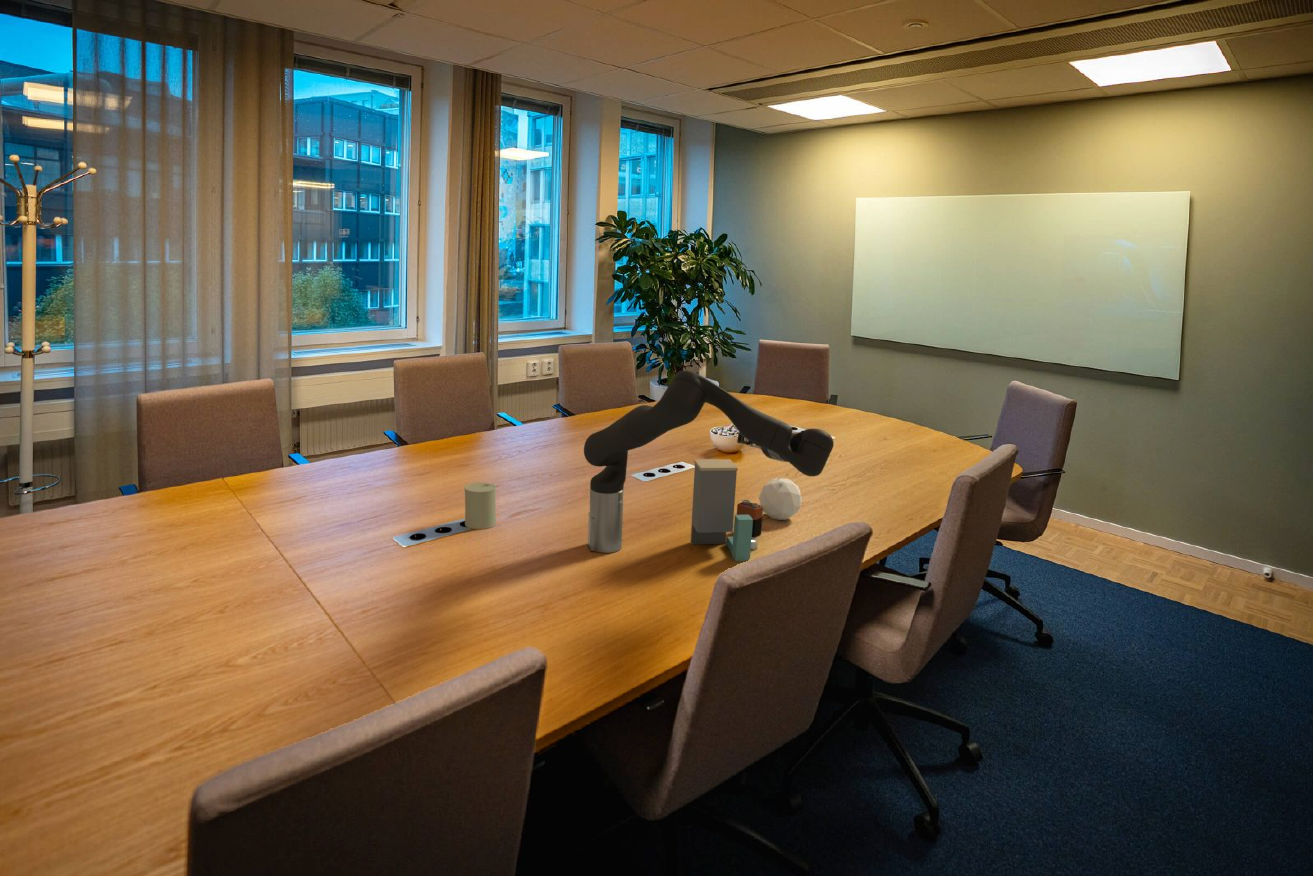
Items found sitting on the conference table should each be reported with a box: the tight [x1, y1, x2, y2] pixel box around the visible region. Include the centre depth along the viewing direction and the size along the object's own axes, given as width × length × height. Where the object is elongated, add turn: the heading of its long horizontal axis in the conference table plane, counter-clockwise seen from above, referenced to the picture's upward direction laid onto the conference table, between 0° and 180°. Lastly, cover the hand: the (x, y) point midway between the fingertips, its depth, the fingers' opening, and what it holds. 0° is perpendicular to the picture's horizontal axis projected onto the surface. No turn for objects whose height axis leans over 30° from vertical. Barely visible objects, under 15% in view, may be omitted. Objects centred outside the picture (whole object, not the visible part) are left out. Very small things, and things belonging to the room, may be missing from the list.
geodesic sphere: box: [758, 476, 803, 521], centre depth 254 cm, size 14×14×14 cm
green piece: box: [726, 514, 753, 562], centre depth 225 cm, size 4×12×12 cm, turn 10°
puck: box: [751, 537, 759, 552], centre depth 230 cm, size 5×5×2 cm
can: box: [464, 482, 497, 530], centre depth 238 cm, size 9×9×12 cm
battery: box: [736, 499, 764, 538], centre depth 240 cm, size 4×7×10 cm, turn 48°
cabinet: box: [690, 458, 739, 545], centre depth 226 cm, size 10×8×25 cm
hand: (755, 439), depth 211 cm, fingers open, 8 cm apart
